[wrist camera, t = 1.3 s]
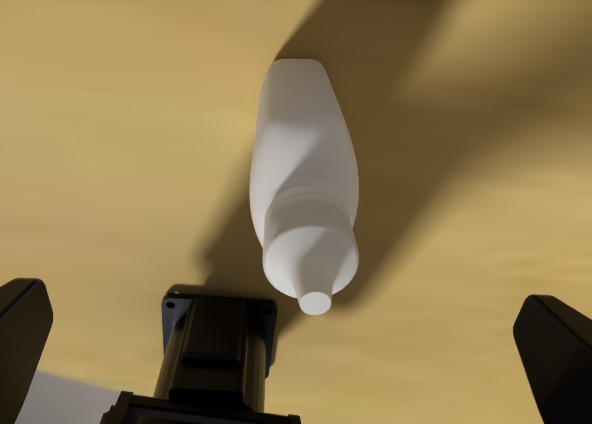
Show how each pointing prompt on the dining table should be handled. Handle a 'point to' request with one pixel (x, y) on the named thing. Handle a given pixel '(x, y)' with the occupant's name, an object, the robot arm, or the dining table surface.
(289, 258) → the eye dropper bottle
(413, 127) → the dining table surface
